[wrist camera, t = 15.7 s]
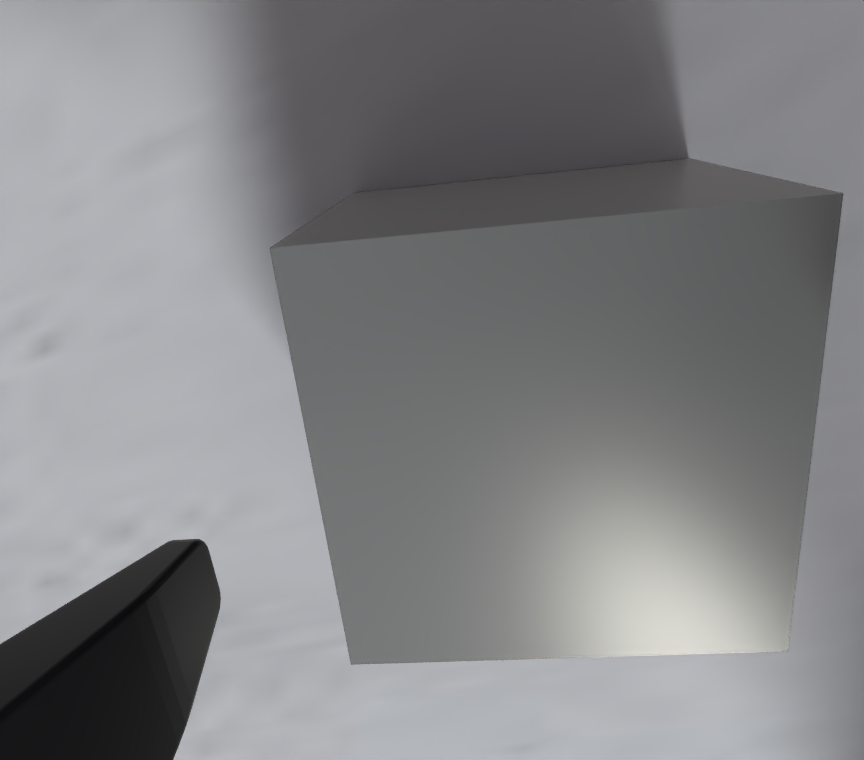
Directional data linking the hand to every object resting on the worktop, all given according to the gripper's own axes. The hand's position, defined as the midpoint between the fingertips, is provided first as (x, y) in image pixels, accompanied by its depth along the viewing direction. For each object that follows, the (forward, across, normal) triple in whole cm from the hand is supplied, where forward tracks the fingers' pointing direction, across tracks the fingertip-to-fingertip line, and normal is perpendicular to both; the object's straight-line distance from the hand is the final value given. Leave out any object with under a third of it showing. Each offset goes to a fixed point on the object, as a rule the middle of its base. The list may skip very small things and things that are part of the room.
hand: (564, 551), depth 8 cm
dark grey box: (+9, 0, 0) cm, 9 cm away
